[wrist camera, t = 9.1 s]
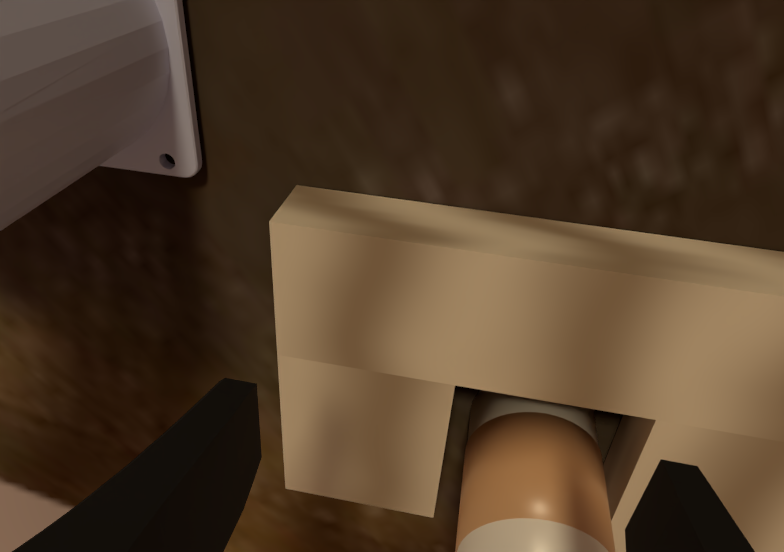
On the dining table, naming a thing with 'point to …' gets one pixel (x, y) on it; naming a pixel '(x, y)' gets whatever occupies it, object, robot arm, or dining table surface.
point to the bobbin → (532, 479)
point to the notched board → (522, 348)
